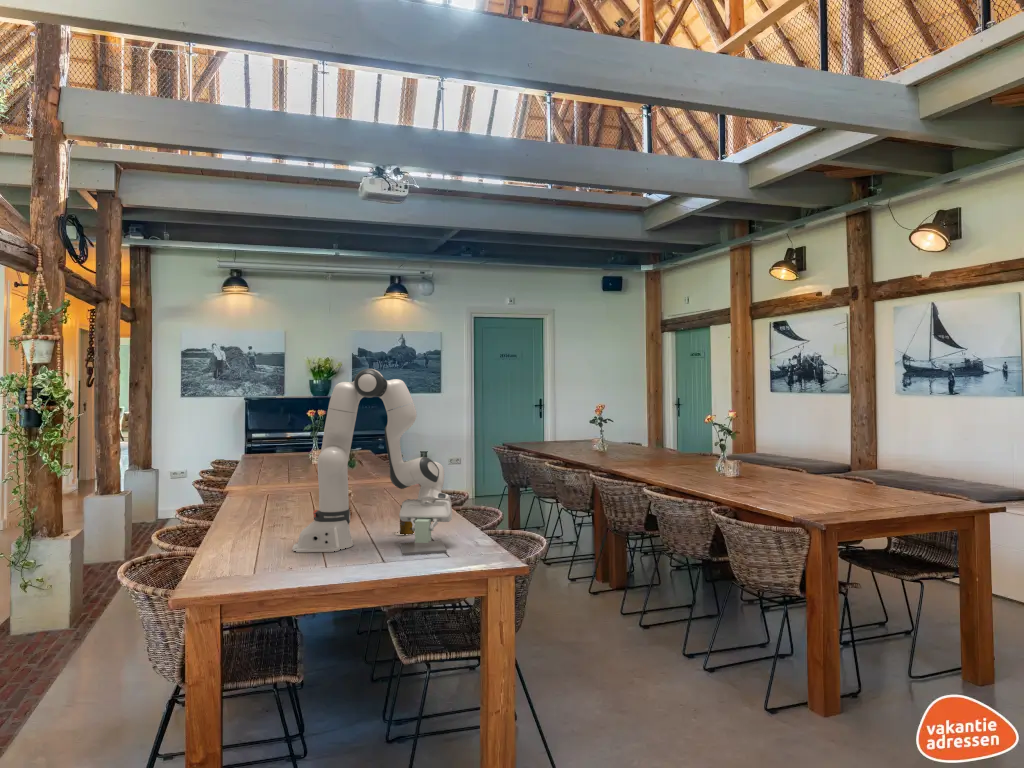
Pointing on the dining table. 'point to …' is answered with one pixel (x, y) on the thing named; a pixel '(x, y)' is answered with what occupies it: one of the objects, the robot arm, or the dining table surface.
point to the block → (422, 531)
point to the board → (423, 548)
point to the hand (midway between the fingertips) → (422, 529)
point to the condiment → (405, 527)
